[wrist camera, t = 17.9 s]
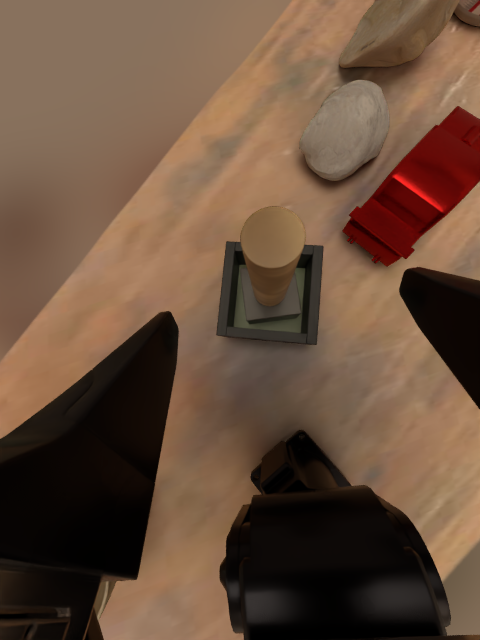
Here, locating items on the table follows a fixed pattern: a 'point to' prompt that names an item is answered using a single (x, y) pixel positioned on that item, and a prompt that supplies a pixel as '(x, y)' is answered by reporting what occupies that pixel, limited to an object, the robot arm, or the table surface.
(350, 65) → the stone
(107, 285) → the table surface
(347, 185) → the table surface
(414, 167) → the toy car
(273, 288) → the wooden post on base
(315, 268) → the holder
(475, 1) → the soda can
